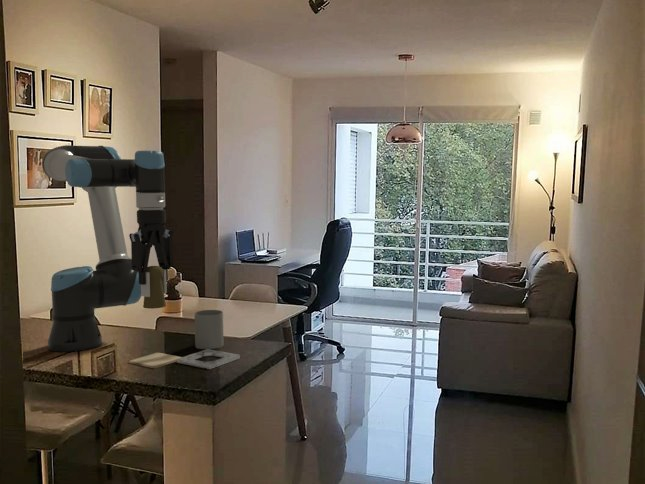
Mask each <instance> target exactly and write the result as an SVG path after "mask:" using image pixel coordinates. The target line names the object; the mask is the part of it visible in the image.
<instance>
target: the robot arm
mask: <svg viewBox="0 0 645 484" xmlns="http://www.w3.org/2000/svg"><path fill="white" fill-rule="evenodd" d="M164 157H165V156H164V152H162V150H161V151H160V150H137V151H136V152H135V153H134V159H130V158H129V159H126V158H121V155H120V154H119V152H118V151H117V150H116V149H115V148H114V147H111V146H104V145H71V144H69V145H67V144H65V145H60V146H56V147H54V148H52V149H50V150H48V151H46V153H45V154H44V155H43V157H42V161H41V166H42V167H41V168H42V170H43V172H44V174H45V175H46V176H48V177H49V178H50V179H51V180H55V181H61V182H67V185H68V186H69V187H72V188H82V190H83V191H85V192H86V193H87V195H88V196H87V197H88V201H89V202H88V203H89V207H90V214H91V220H92V224H93V225H92V226H93V230H94V235H95V242H96V248H97V254H98V260H99V261H98V262H97V264H96V265H95V270H94V269H93V267H92V266H90V265H89V266H87V265H83V266H76V267H70V268H66V269H62V270H59V271H56V272H55V273H53V275H52V276H51V281H50V282H51V284H50V285H51V286H50V291H51V302H52V303H51V304H52V306H51V308H52V320H53V322H52V327H51V328H50V332H49V336H48V337H49V338H48V339H47V348H48V349H49V350H50V351H52V352H62V353H63V352H65V353H66V352H67V353H68V352H77V351H78V352H79V351H80V352H81V351H86V350H91V349H93V348H97V347H99V346H101V345H102V343H103V338H102V337H103V335H102V334H101V331H100V328H99V326H98V323H97V321H96V316H95V310H96V309H104V308H112V307H121V306H124V307H126V306H127V305H133V304H137V303H138V302H139V301H140V300H141V298H142V297H143V298H144V297H150V275H149V272H147V267H149V261H150V255H151V254H150V253H151V250H152V249H151V248H152V247H154V251H155V255H156V259H157V263H158V266H160V267H162V269H163V276H162V278H161V279H162V285H163V291H164V294H167V291H168V290H167V288H168V287H167V281H168V279H169V275H168V273H169V272H168V270H170V269H172V268H171V267H173V265H174V251H173V250H174V246H173V238H174V230H171V229H170V230H169V229H167V228H166V226H165V223H166V222H167V212H166V210H165V209H164V208H165V207H166V184H165V183H166V181H165V180H166V178H165V176H166V175H165V166H166V165H165V163H166V162H165V158H164ZM117 187H119V188H121V187H124V188H125V187H130V188H134V187H135V201H136V202H135V203H136V204H135V205H136V206H135V207H136V208H137V211H136V222H137V224H138V228H137V231H136V232H134V233H129V235H128V236H129V240H130V244H131V245H130V246H131V248H130V249H131V251H130V254H131V256H128V252H127V245H126V240H125V234H124V231H123V224H122V218H121V213H120V208H119V203H118V202H119V201H118V196H117V193H116V192H117V191H116V188H117Z"/></svg>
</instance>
